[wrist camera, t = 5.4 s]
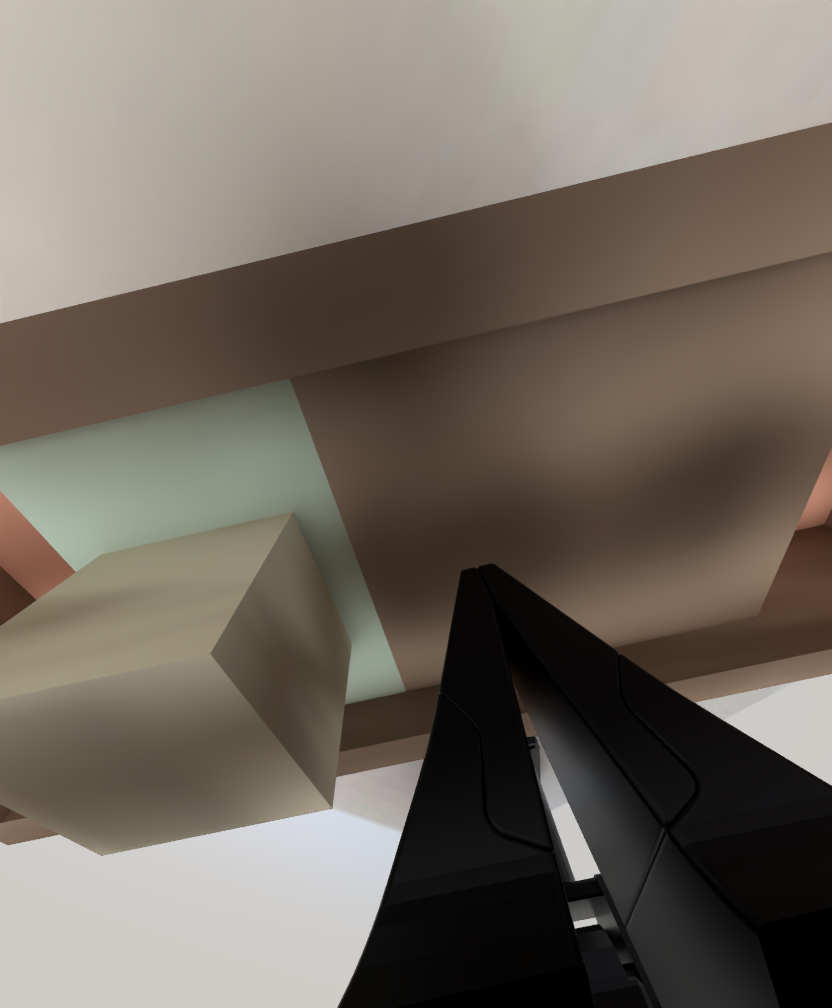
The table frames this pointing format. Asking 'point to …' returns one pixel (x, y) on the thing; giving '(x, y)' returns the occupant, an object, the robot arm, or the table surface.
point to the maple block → (176, 690)
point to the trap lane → (475, 427)
